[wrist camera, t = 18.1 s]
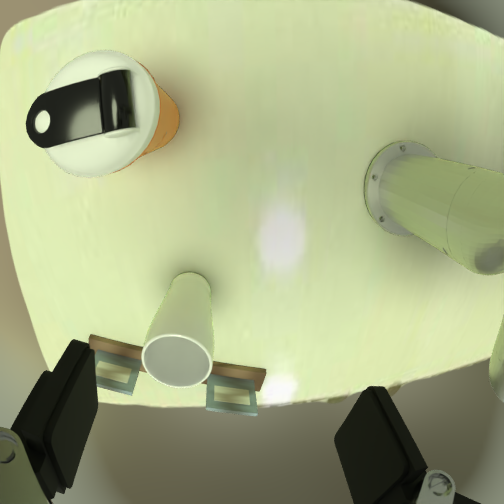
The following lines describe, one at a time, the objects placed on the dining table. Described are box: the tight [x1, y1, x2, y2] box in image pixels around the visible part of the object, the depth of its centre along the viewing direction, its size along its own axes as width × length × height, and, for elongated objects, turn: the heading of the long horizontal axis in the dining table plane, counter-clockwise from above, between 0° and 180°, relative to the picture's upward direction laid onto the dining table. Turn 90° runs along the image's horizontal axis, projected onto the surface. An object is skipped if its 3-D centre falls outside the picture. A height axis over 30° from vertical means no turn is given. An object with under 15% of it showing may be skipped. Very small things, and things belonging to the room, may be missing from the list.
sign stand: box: [89, 335, 266, 416], centre depth 42 cm, size 27×4×8 cm, turn 76°
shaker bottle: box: [26, 50, 179, 178], centre depth 25 cm, size 9×9×20 cm
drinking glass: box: [141, 272, 214, 388], centre depth 35 cm, size 7×7×15 cm
